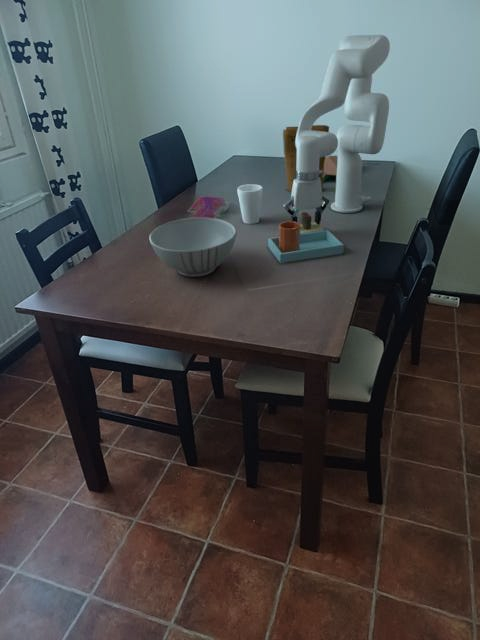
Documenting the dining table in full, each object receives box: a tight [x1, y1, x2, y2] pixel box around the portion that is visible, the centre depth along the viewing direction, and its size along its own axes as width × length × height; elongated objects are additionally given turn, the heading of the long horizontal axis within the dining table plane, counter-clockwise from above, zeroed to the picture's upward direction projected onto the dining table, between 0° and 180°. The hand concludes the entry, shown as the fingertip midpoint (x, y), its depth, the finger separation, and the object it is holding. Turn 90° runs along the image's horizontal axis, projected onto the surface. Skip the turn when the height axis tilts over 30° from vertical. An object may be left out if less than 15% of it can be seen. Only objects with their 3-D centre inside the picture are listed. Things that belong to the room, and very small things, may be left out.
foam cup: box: [236, 183, 264, 225], centre depth 182 cm, size 10×9×13 cm
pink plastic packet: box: [187, 196, 232, 219], centre depth 191 cm, size 30×15×5 cm, turn 167°
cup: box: [278, 220, 301, 253], centre depth 156 cm, size 7×7×10 cm
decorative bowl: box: [148, 216, 238, 278], centre depth 149 cm, size 27×27×12 cm
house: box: [322, 155, 338, 182], centre depth 231 cm, size 23×33×8 cm
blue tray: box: [267, 229, 345, 264], centre depth 159 cm, size 22×14×3 cm, turn 103°
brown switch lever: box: [300, 211, 312, 230], centre depth 168 cm, size 5×2×5 cm, turn 14°
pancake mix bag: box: [282, 124, 330, 192], centre depth 205 cm, size 7×19×28 cm, turn 75°
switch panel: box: [299, 221, 324, 234], centre depth 170 cm, size 12×9×3 cm
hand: (306, 224), depth 169 cm, fingers open, 7 cm apart
